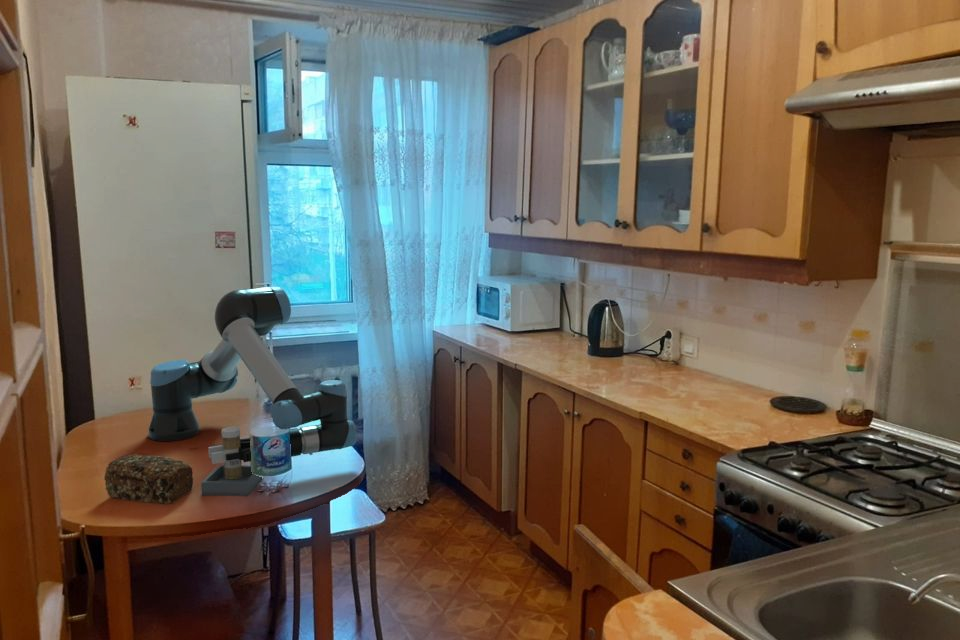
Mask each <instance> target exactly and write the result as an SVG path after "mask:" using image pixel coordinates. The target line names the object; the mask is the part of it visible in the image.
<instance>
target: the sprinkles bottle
mask: <svg viewBox="0 0 960 640" xmlns="http://www.w3.org/2000/svg"><path fill="white" fill-rule="evenodd" d="M240 437H241V428H240V427H239V426H227V427H224V428H222V429H221V438H222V445H223V451H228V450H234V449H238V452H239V447H240V439H241V438H240ZM242 462H243V460H234V461H228V462H223V465H224V468H225V479H227V480H236V479H239V478H241V477H242V466H241V465H242Z"/></svg>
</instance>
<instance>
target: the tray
mask: <svg viewBox="0 0 960 640" xmlns="http://www.w3.org/2000/svg"><path fill="white" fill-rule="evenodd" d="M241 466H242V477H241V478H239V479H236V480H227V479H225V468H224V464H223V465H222V464H221V465H218V466H217V467H215V469H213V471H212V472H210V474H208V476H206V477H205V478H204V479H203V480H202V481H201V483H200V484H201V487H200V488H201V496H229V497H230V496H233V497H235V496H237V497H239V496H243V497H248V496H250V495H251V494H252V493H253V491H254V490H255V489H256V488H257V487H258V485H259V484H260V483H261V482H262V481H263V479H262V477H259V476H256V475H254V474H252V472H251V466H252V465H242V464H241Z"/></svg>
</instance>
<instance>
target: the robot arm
mask: <svg viewBox="0 0 960 640" xmlns="http://www.w3.org/2000/svg"><path fill="white" fill-rule="evenodd" d="M215 307H216V308H215V311H214V322H215V326H216V330H217V331H218V334H219V336H220V337H221V338H222V339H221V340H220V342H218V344H217V346H216V347H215V348H214V350H211V351H208V352H206V353H205V354H204V355H203V356H202V358H200V360H199V361H195V362H190V361H188V360H186V359H177V360H170V361H165V362H163V363H162V362H161V363H159V364H157V365H155V366H154V367H153V368H152V369H151V371H150V390H151V398H152V399H151V402H152V416H151V420H150V423H149V426H148V438H149V439H150V440H152V441H158V442H174V441H180V440H185V439H189V438H192V437H194V436H197V435H198V434H199V433H200V424H199V421H198V419H197V416H196V415H195V412H194V409H193V399H197V398H201V397H207V396H209V395H210V396H211V395H215V394H222V393H226V392H227V391H230V390H232V389H233V388H234V387H235V386H236V384H237V382H238V376H239V371H238V370H239V369H238V364H239V363H240V361H243V363H244V364H245V367H246V368H247V369H248V371H249V372H250V373H251V374H252V376H253V377H254V379H255V381H256V382H257V383H258V385H259V387H260V388H261V390H262V391H263V393H264V394H265V395H266V397H267V398H268V399H269V400H270V403H271V404H272V406H271V409H270V417H271V418H272V422H273V424H274V426H275V427H276V428H279V430H287V429H290V444H291V457H290V458H292V457H293V458H294V457H298V456H301V455H310V456H313V454H315V453H321V452H328V451H335V450H342V449H347V448H349V447H352V446H354V445H356V442H357V440H358V434H357V433H358V432H357V426H356V424H355V422H354V421H353V420H349V419H348V393H347V385H346V383H345V382H344V381H342V380H339V379H329V380H324V381H321V382H320V383H319V384H318V391H316V392H312V393H307V394H304V395H303V394H302V393H301V392H300V390H299V389H298V388H297V387H296V385H295V384H294V383H293V381H292V380H291V378H290V377H289V375H288V374H287V373H286V371H285V369H283V367H282V366H281V364H280V362H279V361H278V359H277V358H276V356H275V355H274V354H273V353H272V352H271V350H270V348H269V347H268V345H267V344H266V343H265V342H264V340H263V339H262V337H264V336H266V335H268V334H269V333H270V332H271V330H273V329H274V328H275V326H277V325H283V324H286V323H288V321H289V320H290V318H291V315H292V314H291V313H292V307H291V301H290V298H289V296H288V294H287V293H286V291H285V290H284V289H283V288H282V287H280V286H269V285H268V286H265V287H264V286H263V287H257V288H256V287H255V288H246V289H235V290H232V291H229V292H228V293H226V294H224V296H222V297H221V298H220V300H219V301H218V303H217V305H216V306H215ZM317 421H319V422H320V423H319V424H315V425H313V424H312V425H307V426H302V425H306V424H308V423H312V422H317ZM299 426H301V427H299ZM298 427H299V428H298ZM250 438H251V437H245V438H240V447H239V452H238V449H234V450H228V451H223V444H221V445H215V446H209V447H207V448H208V458H209V459H211V464H212V465H214V464H215V465H216V464H222V463H224V462H228V461H234V460H241V461H242V462H243V463H248V462H252V461H251V451H250Z"/></svg>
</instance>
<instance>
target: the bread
mask: <svg viewBox="0 0 960 640" xmlns="http://www.w3.org/2000/svg"><path fill="white" fill-rule="evenodd" d="M105 469H106V470H105V474H104V481H105V485H104V486H105V490H106V492H107V494H108V497H109V498H111V499H116V498H119V499H120V500H121V499H122V500H124V501H125V500H126V501H133V502H140V503H141V502H142V503H150V504H151V503H153V504H154V503H158V504H160V503H162V504H165V505H167V504H172V503H173V502H176V501H178V500H179V498H180V497H182V496H185V495H187V494H188V493H191V492H192V489H193V485H194V478H193V477H194V476H193V474H194V472H193V468H192V467H191V465H190V464H189V463H188V462H185V461H183V460H178V459H175V458H171V457H168V456H161V455H150V454H149V455H148V454H145V455H141V454H140V455H139V454H137V453H136V454H135V453H133V454H126V455H121V456H120V457H117V458H116V459H114V460H112V461H111V462H110V463H108V464H107V466H106V468H105Z"/></svg>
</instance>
